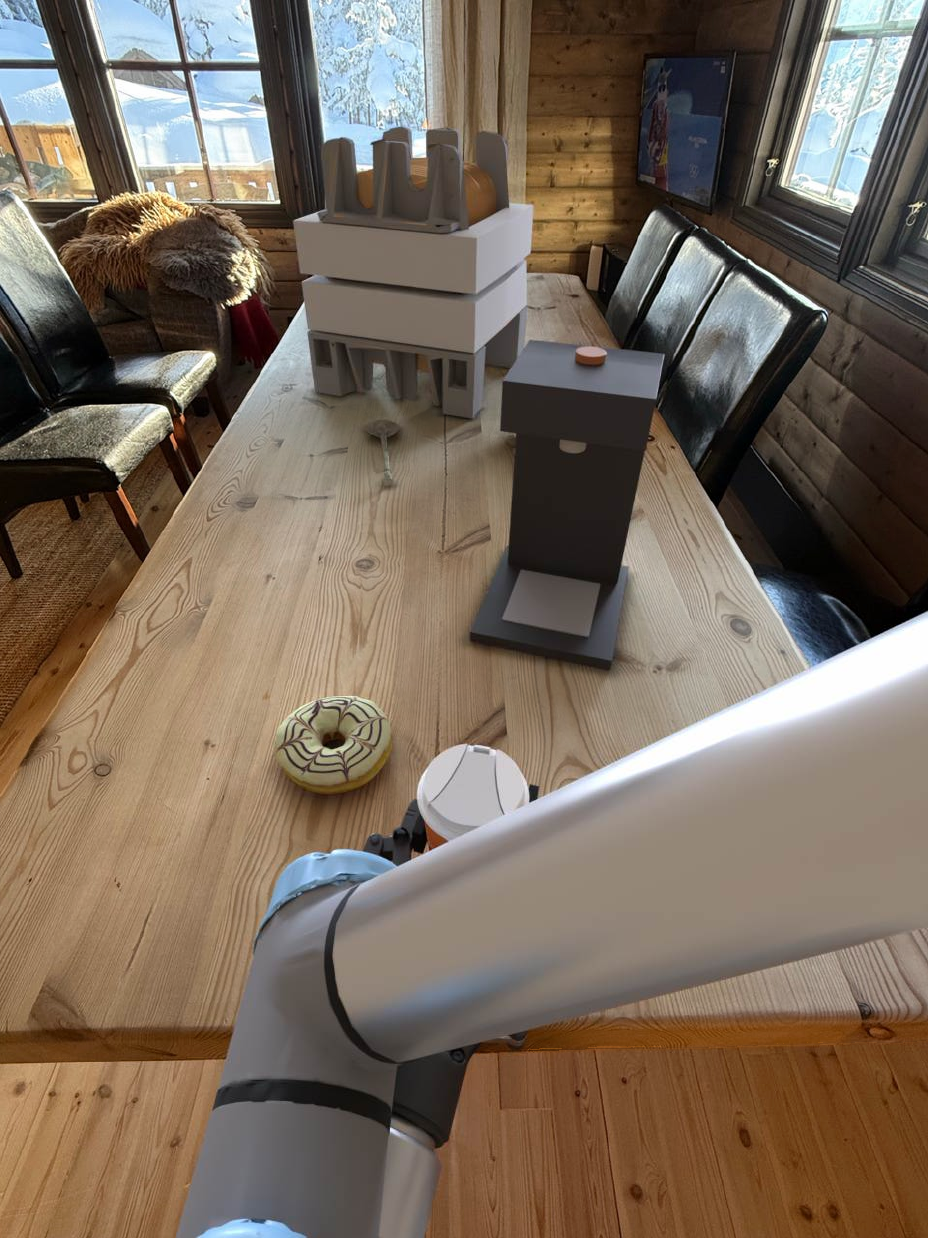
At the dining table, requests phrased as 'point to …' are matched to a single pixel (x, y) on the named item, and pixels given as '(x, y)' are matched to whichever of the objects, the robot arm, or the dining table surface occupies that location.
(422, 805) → the paper cup
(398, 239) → the transformer
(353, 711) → the decorated donut
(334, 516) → the dining table surface
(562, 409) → the coffee maker
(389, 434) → the soupspoon
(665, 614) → the dining table surface
